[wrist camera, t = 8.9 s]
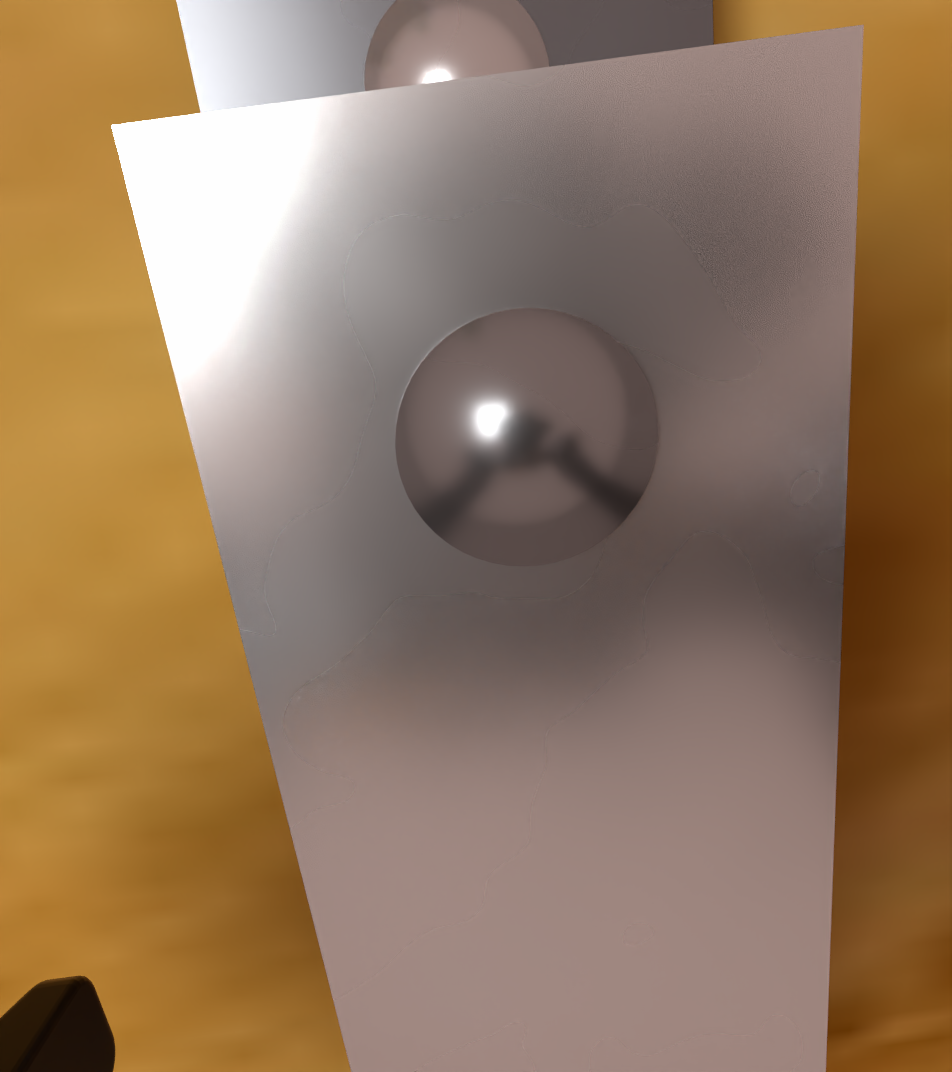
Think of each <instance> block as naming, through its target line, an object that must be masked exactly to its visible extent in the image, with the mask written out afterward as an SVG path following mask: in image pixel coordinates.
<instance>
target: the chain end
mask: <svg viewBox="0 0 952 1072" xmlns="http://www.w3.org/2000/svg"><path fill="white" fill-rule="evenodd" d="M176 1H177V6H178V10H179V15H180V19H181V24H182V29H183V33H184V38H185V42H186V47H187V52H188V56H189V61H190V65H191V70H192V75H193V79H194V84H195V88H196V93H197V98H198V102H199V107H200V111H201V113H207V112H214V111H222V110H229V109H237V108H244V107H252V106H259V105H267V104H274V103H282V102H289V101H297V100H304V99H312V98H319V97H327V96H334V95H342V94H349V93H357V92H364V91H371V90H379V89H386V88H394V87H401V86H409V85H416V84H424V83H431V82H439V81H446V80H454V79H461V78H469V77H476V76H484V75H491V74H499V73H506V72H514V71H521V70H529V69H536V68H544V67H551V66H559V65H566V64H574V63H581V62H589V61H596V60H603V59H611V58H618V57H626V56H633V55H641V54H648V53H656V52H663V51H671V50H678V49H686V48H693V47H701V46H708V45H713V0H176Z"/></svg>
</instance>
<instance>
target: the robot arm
mask: <svg viewBox="0 0 952 1072" xmlns="http://www.w3.org/2000/svg"><path fill="white" fill-rule="evenodd" d="M114 1063H115V1042H114V1037H113V1034H112V1031H111V1029H110V1026H109V1023H108V1021H107V1018H106V1016H105V1013H104V1011H103V1008H102V1005H101V1003H100V1000H99V998H98V995H97V993H96V990H95V987H94V985H93V984H92V982H91V981H90V980H89V979H88V978H87V977H85V976H73V977H66V978H58V979H51V980H46V981H43V982H40V983H39V984H37V985H36V986H34V987H33V988H32V989H31V990H29V991H28V992H27V993H26V994H25V995H24V996H23V997H22V998H21V999H20V1000H19V1001H18V1002H17V1003H16V1004H15V1005H14V1006H12V1007H11V1008H10V1009H9V1010H8V1011H7V1012H6V1013H5V1014H4V1015H3V1016H2V1017H1V1018H0V1072H113V1069H114Z"/></svg>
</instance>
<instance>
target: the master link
mask: <svg viewBox="0 0 952 1072" xmlns="http://www.w3.org/2000/svg"><path fill="white" fill-rule="evenodd" d="M863 27H864V25H858V26H850V27H843V28H836V29H828V30H821V31H813V32H806V33H798V34H791V35H783V36H776V37H768V38H761V39H753V40H746V41H738V42H731V43H723V44H716V45H708V46H701V47H693V48H686V49H678V50H671V51H663V52H656V53H648V54H641V55H633V56H626V57H618V58H611V59H603V60H596V61H589V62H581V63H574V64H566V65H559V66H551V67H544V68H536V69H529V70H521V71H514V72H506V73H499V74H491V75H484V76H476V77H469V78H461V79H454V80H446V81H439V82H431V83H424V84H416V85H409V86H401V87H394V88H386V89H379V90H371V91H364V92H357V93H349V94H342V95H334V96H327V97H319V98H312V99H304V100H297V101H289V102H282V103H274V104H267V105H259V106H252V107H244V108H237V109H229V110H222V111H214V112H207V113H199V114H192V115H184V116H177V117H169V118H162V119H154V120H147V121H139V122H132V123H125V124H117V125H111V126H112V130H113V134H114V138H115V141H116V145H117V149H118V153H119V157H120V161H121V165H122V169H123V173H124V177H125V181H126V185H127V189H128V193H129V197H130V201H131V205H132V208H133V212H134V216H135V220H136V224H137V228H138V232H139V236H140V240H141V244H142V248H143V252H144V256H145V260H146V264H147V268H148V272H149V276H150V279H151V283H152V287H153V291H154V295H155V299H156V303H157V307H158V311H159V315H160V319H161V323H162V327H163V331H164V335H165V339H166V343H167V347H168V350H169V354H170V358H171V362H172V366H173V370H174V374H175V378H176V382H177V386H178V390H179V394H180V398H181V402H182V406H183V410H184V414H185V418H186V421H187V425H188V429H189V433H190V437H191V441H192V445H193V449H194V453H195V457H196V461H197V465H198V469H199V473H200V477H201V481H202V485H203V488H204V492H205V496H206V500H207V504H208V508H209V512H210V516H211V520H212V524H213V528H214V532H215V536H216V540H217V544H218V548H219V552H220V556H221V559H222V563H223V567H224V571H225V575H226V579H227V583H228V587H229V591H230V595H231V599H232V603H233V607H234V611H235V615H236V619H237V623H238V627H239V630H240V634H241V638H242V642H243V646H244V650H245V654H246V658H247V662H248V666H249V670H250V674H251V678H252V682H253V686H254V690H255V694H256V698H257V701H258V705H259V709H260V713H261V717H262V721H263V725H264V729H265V733H266V737H267V741H268V745H269V749H270V753H271V757H272V761H273V765H274V769H275V772H276V776H277V780H278V784H279V788H280V792H281V796H282V800H283V804H284V808H285V812H286V816H287V820H288V824H289V828H290V832H291V836H292V839H293V843H294V847H295V851H296V855H297V859H298V863H299V867H300V871H301V875H302V879H303V883H304V887H305V891H306V895H307V899H308V903H309V907H310V910H311V914H312V918H313V922H314V926H315V930H316V934H317V938H318V942H319V946H320V950H321V954H322V958H323V962H324V966H325V970H326V974H327V978H328V981H329V985H330V989H331V993H332V997H333V1001H334V1005H335V1009H336V1013H337V1017H338V1021H339V1025H340V1029H341V1033H342V1037H343V1041H344V1045H345V1049H346V1052H347V1056H348V1060H349V1064H350V1068H351V1072H826V1052H827V1024H828V997H829V969H830V941H831V914H832V886H833V858H834V830H835V803H836V775H837V747H838V720H839V692H840V664H841V637H842V609H843V581H844V553H845V526H846V498H847V470H848V443H849V415H850V387H851V360H852V332H853V304H854V276H855V249H856V221H857V193H858V166H859V138H860V110H861V83H862V55H863Z"/></svg>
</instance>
